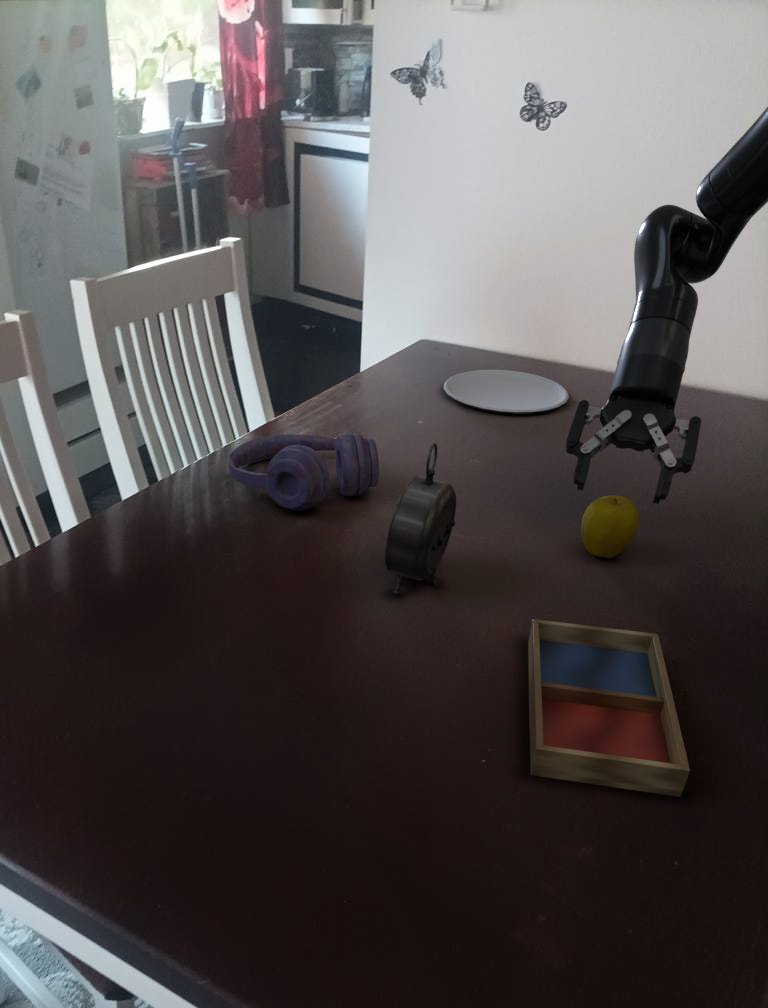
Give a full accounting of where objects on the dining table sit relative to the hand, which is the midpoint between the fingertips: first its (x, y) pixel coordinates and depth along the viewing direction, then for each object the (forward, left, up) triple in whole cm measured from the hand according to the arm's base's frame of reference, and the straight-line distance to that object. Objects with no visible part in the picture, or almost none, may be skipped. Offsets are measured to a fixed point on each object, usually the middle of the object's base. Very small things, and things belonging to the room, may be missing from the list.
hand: (618, 494), depth 104 cm
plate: (+12, -52, -7) cm, 54 cm away
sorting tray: (+3, +33, -7) cm, 34 cm away
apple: (0, +2, -7) cm, 8 cm away
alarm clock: (+21, +13, -7) cm, 26 cm away
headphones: (+39, -9, -7) cm, 41 cm away
